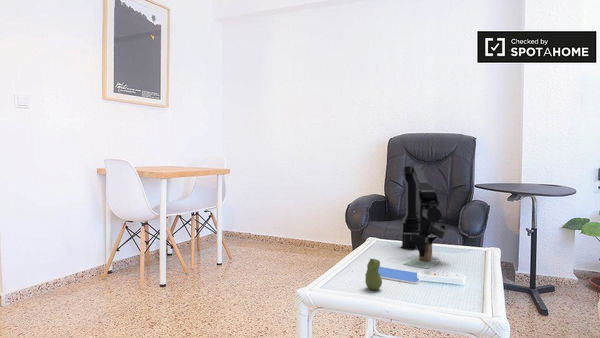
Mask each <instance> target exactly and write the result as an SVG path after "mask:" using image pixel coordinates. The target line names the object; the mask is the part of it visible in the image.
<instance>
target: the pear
mask: <svg viewBox="0 0 600 338" xmlns="http://www.w3.org/2000/svg"><path fill="white" fill-rule="evenodd" d="M380 265H381V262H380V260H379V259H376V258H370V259H369V261H368V263H367V265H366V273H365V274H366V275H365V285H366V287H367V288H368V289H369V290H371V291H377V290H380V288H381V287H382V285H383V280H382V279H383V278H381V277H380V274H379V271H378V270H379V267H381V266H380Z"/></svg>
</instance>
